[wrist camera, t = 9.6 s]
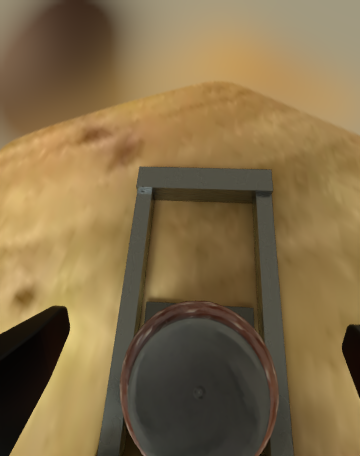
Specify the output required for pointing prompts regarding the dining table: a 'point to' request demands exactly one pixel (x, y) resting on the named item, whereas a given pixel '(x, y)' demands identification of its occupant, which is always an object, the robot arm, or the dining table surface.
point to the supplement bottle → (199, 384)
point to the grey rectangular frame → (133, 294)
